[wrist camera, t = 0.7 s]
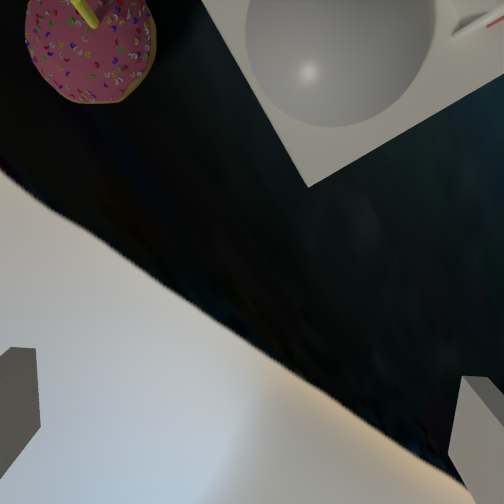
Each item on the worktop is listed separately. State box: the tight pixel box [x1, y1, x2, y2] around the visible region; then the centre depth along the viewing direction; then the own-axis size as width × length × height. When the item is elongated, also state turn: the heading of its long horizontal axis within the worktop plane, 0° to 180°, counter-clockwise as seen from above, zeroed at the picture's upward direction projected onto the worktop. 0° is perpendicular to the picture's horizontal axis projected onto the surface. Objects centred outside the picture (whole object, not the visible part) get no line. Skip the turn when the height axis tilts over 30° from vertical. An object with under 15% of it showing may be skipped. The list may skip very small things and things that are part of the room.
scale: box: [201, 0, 504, 187], centre depth 30 cm, size 16×18×8 cm
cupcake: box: [24, 0, 156, 104], centre depth 30 cm, size 9×8×12 cm
